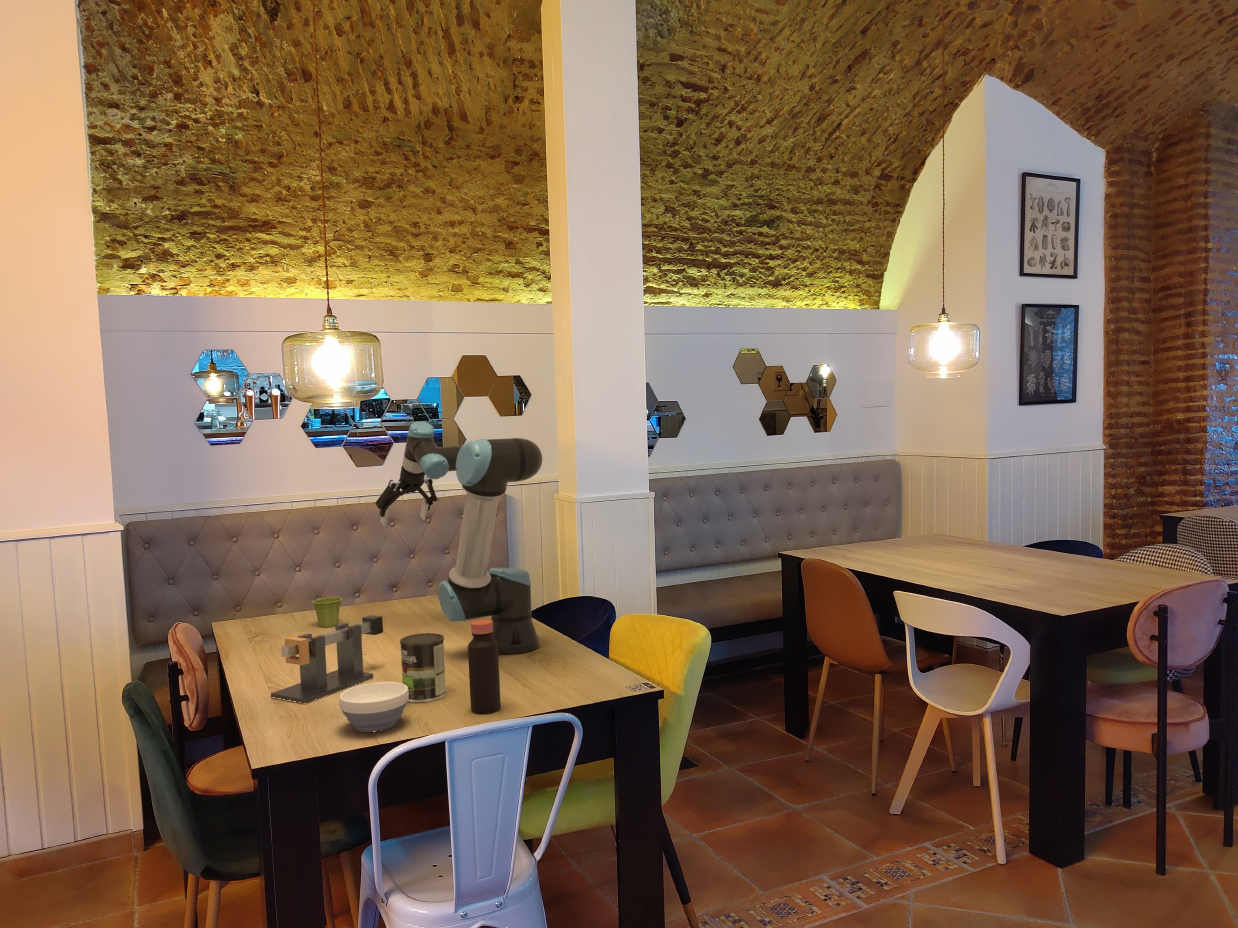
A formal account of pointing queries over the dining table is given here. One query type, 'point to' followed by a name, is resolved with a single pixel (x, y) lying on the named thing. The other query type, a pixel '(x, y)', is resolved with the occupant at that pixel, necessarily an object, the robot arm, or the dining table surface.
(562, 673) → the dining table surface
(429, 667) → the coffee can
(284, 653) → the shaft
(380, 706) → the bowl
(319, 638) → the stand
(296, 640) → the collar
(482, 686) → the bottle
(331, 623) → the plant pot
